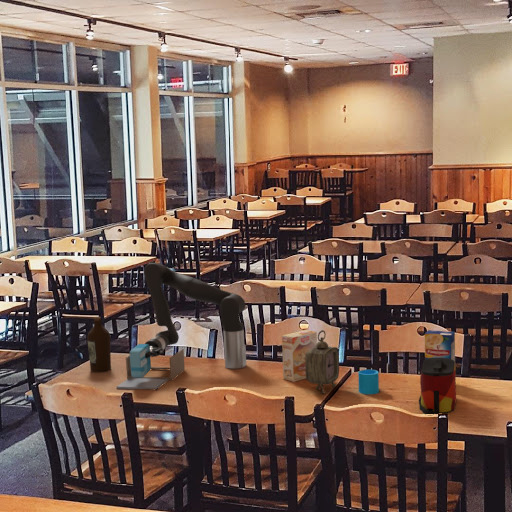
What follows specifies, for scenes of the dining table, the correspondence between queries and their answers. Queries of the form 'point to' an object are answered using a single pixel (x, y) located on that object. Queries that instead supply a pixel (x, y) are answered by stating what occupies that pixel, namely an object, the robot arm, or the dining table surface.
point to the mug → (368, 381)
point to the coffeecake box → (296, 353)
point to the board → (141, 383)
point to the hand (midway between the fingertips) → (140, 356)
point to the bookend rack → (175, 367)
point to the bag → (438, 386)
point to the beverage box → (440, 344)
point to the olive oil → (99, 347)
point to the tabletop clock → (322, 364)
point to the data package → (140, 361)
